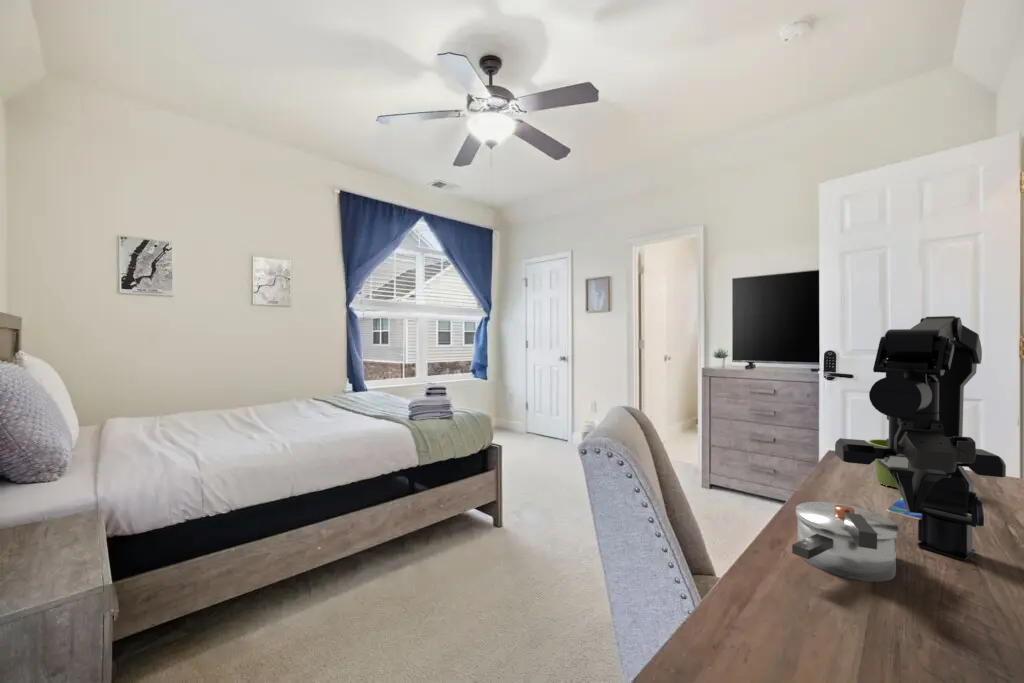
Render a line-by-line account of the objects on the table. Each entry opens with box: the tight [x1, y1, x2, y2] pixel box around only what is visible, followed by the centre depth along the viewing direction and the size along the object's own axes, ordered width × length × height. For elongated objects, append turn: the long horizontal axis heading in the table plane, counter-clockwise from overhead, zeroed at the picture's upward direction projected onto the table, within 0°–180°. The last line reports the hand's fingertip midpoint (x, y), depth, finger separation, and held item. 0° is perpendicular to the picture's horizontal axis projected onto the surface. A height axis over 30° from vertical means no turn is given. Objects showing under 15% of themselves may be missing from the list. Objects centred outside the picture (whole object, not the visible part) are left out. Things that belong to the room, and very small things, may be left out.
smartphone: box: [886, 496, 922, 520], centre depth 103 cm, size 7×1×15 cm
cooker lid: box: [795, 501, 899, 550], centre depth 77 cm, size 20×15×3 cm
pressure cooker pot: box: [791, 518, 897, 583], centre depth 78 cm, size 25×14×6 cm, turn 121°
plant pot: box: [867, 438, 911, 489], centre depth 120 cm, size 12×12×11 cm
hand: (912, 511), depth 68 cm, fingers closed
